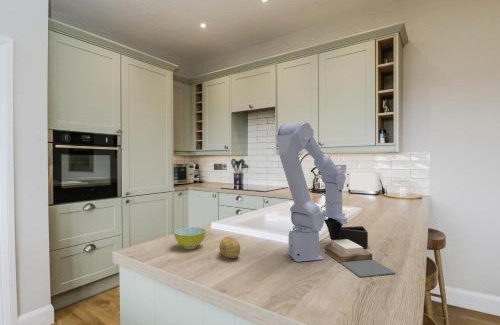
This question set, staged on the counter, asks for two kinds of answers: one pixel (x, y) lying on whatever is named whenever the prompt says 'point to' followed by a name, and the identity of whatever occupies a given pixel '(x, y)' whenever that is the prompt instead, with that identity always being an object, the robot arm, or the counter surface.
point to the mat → (367, 268)
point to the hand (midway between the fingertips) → (334, 239)
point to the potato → (229, 247)
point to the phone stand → (354, 235)
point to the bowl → (190, 236)
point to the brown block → (347, 258)
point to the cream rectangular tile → (347, 247)
